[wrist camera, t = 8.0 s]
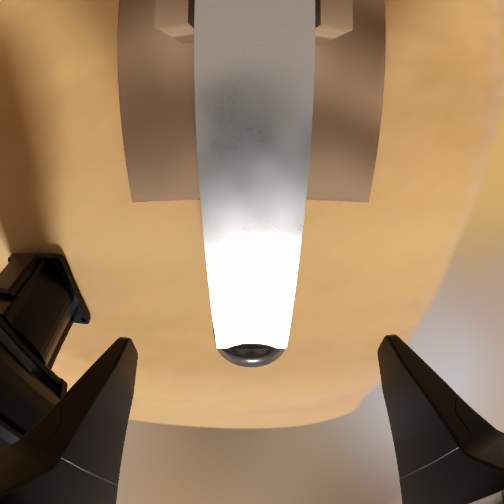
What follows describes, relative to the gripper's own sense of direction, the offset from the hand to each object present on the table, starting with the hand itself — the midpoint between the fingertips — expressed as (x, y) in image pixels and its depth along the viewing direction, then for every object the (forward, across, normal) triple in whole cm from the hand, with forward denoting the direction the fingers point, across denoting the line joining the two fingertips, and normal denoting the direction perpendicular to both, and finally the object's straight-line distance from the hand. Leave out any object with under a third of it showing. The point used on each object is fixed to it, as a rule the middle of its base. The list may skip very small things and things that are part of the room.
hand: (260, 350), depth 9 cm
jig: (+8, 0, -12) cm, 15 cm away
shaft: (+6, 0, -6) cm, 8 cm away
